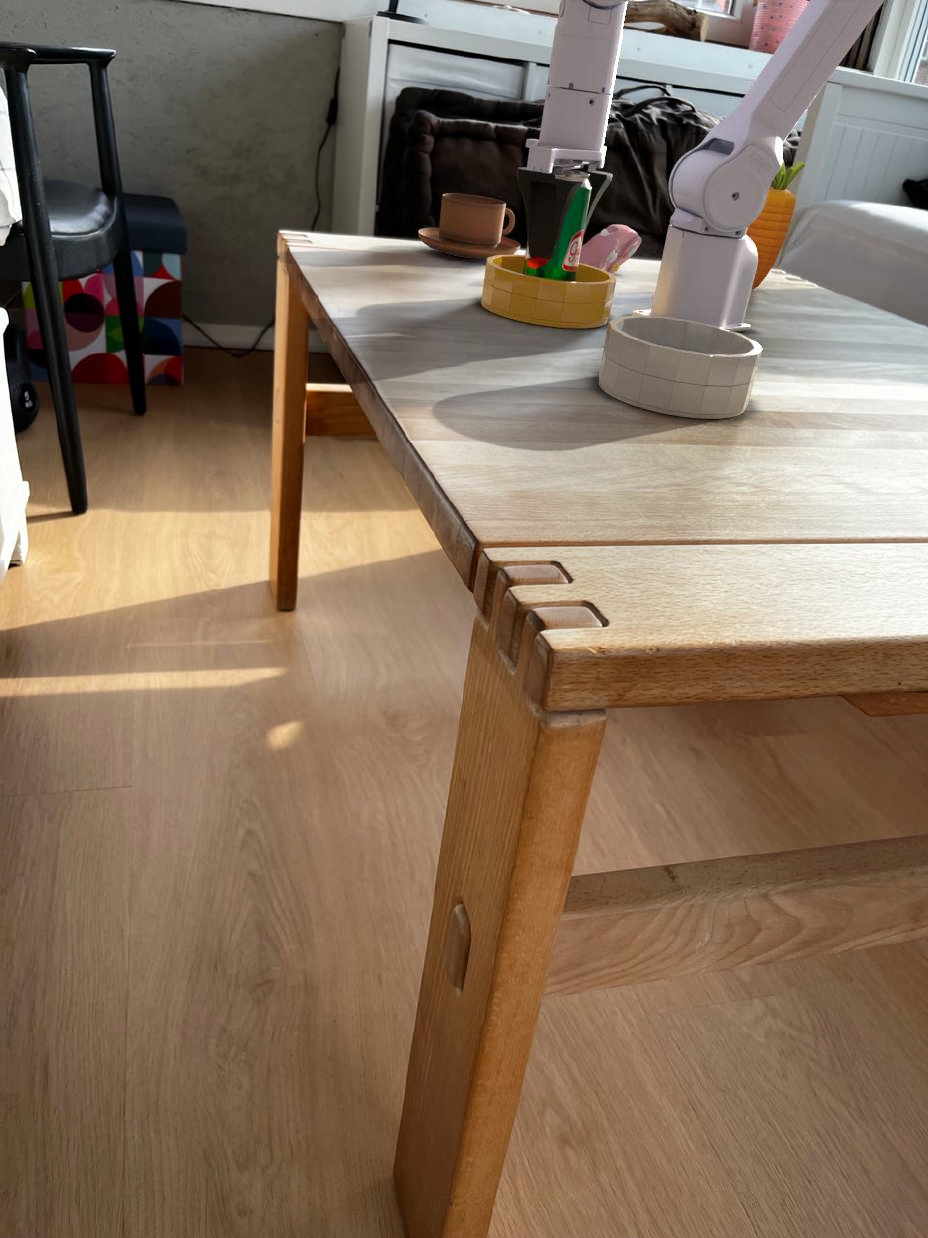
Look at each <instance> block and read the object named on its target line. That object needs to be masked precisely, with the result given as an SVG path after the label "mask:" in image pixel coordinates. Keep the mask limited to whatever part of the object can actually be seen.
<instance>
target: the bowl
mask: <svg viewBox="0 0 928 1238" xmlns="http://www.w3.org/2000/svg"><path fill="white" fill-rule="evenodd" d="M524 260H525V254H516V253H515V254H513V255H496V256H492V257H488V258H487V259H486V263H485V270H484V278H483V285H482V286H483V287H482V294H481V301H480V304H481V306H482V307H483V308H484V309H485V310H486V311H489V312H491V313H492V314H494V315H498V316H500V317H503V318H506V319H510V320H513V321H517V322H521V323H526V324H530V325H531V324H532V325H536V326H543V327H551V328H561V329H593V328H599V327H602V326H605V325H606V324H607V323H608V322H609V318H610V315H611V310H612V307H613V306H612V305H613V300H614V294H615V289H616V283H617V278H616V276H615V275H614V273H613V274H611V273H609V272H607V271H605V270H603V269H600V268H596V267H593V266H589V265H586V264H582V263H579V264H578V270H577V276H576V282H568V281H559V280H552V279H545V278H539V277H534V276H529V275H525V274H523V267H524Z"/></svg>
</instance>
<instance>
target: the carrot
mask: <svg viewBox="0 0 928 1238" xmlns="http://www.w3.org/2000/svg"><path fill="white" fill-rule="evenodd" d="M805 167H806V164H805V163H804V162H803V161H798V162H797V163H796V164H795V166H793V165H792V166H790V167H789V168H788V169H787V170H786V166H785V161H784V159H782V166H781V169H780V170H779V172H778V173H777V174H776V176H775V177H774V179H773V181H772V183H771V186H772V187H771V186H770V187H769V191H768V195H767V199H766V203H765V205H764V208H763V210H762V212H761V213H760V215H759V216H758V218H757V219H756V220H755V221H754V222H753V223H752V224H750V225H749V226H748V227H747V233H746V235H747V236H749V237H750V238H751V239H752V241H753V242H754V244H755V246H756V250H757V255H758V264H757V270H756V274H755V277H754V281H753V285H752V289H751V291H752V290H755V289H757V288H758V287H759V286H760V285H761V283H762V282H763V281H764V280H765V278H766V277H767V276H768V275H769V274H770V272H771V270H772V269H773V267H774V265H775V263H776V261H777V259H778V257H779V254H780V252H781V250H782V248H783V245H784V243H785V241H786V237H787V235H788V231H789V228H790V225H791V222H792V218H793V215H794V211H795V208H796V203H797V202H796V201H797V200H796V196H795V195H794V194H793V193H792V192H791V191H790V190H788V189H787V187H788V186H789V185H790V184H791V182H792V181H793V180H794V179H795V178H796V176H797V175H798V174H799V173H800V172H801V170H803V169H804V168H805Z"/></svg>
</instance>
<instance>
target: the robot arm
mask: <svg viewBox="0 0 928 1238" xmlns="http://www.w3.org/2000/svg"><path fill="white" fill-rule="evenodd" d="M629 1H630V0H560V3H559V8H558V16H557V23H556V24H555V27H554V33H553V41H552V47H551V54H550V60H549V61H550V62H549V69H548V75H547V81H546V82H547V83H546V90H545V96H544V97H545V98H544V106H543V111H542V118H541V124H540V132H539V139H537V138H526V141H525V148H529V150H528V157H527V165H526V166H521V167H517V169H516V181H517V184H518V187H519V190H520V193H521V195H522V200H523V204H524V210H525V218H526V232H527V240H528V248H529V255H531V256H535V257H540V258H545V259H552V258H553V256H554V253H555V251H556V248H557V245H558V242H559V238H560V234H561V231H562V227H563V223H564V220H565V217H566V214H567V212H568V209H569V207H570V204H571V202H572V200H573V198H574V196H575V195H576V193H577V191H578V190H579V188H580V186H581V185H582V183H583V181H581V180H575V179H569V178H565V174H562V173H563V170H568V169H572V170H577V171H582V172H586V173H588V174H590V176H589V177H588V179H589V182H590V185H591V187H592V188H591V194H590V200H589V206H588V212H587V218H586V224H585V229H584V234H585V233H586V230H587V227H588V224H589V222H590V219H591V217H592V215H593V213H594V210H595V208H596V206H597V204H598V202H599V201H600V199H601V197H602V196H603V194H604V193H605V191H606V189H607V188H608V187H609V185H610V184H611V182H612V180H613V179H612V178H613V174H612V173H610V172H606V171H600V170H597V169H603V168H604V164H605V157H606V154H607V153H606V152H607V146H605V145H604V144H605V139H606V138H605V137H606V131H607V126H608V121H609V120H608V119H609V114H610V108H611V104H612V98H613V91H614V85H615V81H616V74H617V68H618V62H619V58H620V57H619V56H620V51H621V46H622V45H621V44H622V40H623V27H624V21H625V16H626V10H627V6H628V5H627V4H628V2H629ZM884 2H885V0H809V2H808V3H807V4H806V6H805V7H804V9H803V10H802V11H801V13H800V15H799V16H798V17H797V19H796V21H794V24H793V25H792V27H791V28H790V29H789V31H788V32H787V33H786V35H785V37H784V38H783V39H782V41H781V42H780V44H779V45H778V47H777V48H776V50H775V51H774V53H773V54H772V55H771V57H770V59H769V60H768V61H767V63H766V64H765V66H764V67H763V69H761V71H760V72H759V75H758V76H757V78H756V79H755V80H754V82H753V83H752V85H751V86H750V88H748V90H747V91H746V93H745V95H744V96H743V98H742V99H741V100H740V102H739V103H738V105H737V107H736V108H735V109H734V110H733V111H732V113H730V114H729V115H728V116H727V117H725V118H724V119H722V120H721V121H720V122H718V123H717V124H715V125H714V126H713V127H712V128H711V129H710V130H709V131H708V133H707V134H706V136H705V137H704V139H703V140H702V141H701V142H700V143H699V144H698V145H697V146H695V147H694V148H692V149H691V150H689V151H688V152H686V153H684V154H683V155H682V156H681V157H680V158H679V159H678V160H677V161H676V163H675V164H674V166H673V168H672V170H671V173H670V175H669V180H668V195H669V199H670V201H671V203H672V205H673V207H674V208H675V209H674V212H673V214H672V215H671V216H670V219H669V224H668V228H667V233H666V237H665V242H664V247H663V250H662V251H663V252H662V255H661V256H662V257H661V260H660V261H661V262H660V266H659V271H658V276H657V280H656V285H655V291H654V295H653V300H652V304H651V308H649V309H640V310H639V309H638V310H632V311H631V316H634V315H641V316H661V317H669V318H676V319H683V320H690V321H695V322H699V323H704V324H708V325H713V326H717V327H720V328H723V329H727V330H730V331H733V332H742V331H749V330H750V329H751V325H750V324H749V323H745V318H746V313H747V309H748V305H749V301H750V298H751V297H750V296H751V292H752V285H753V281H754V277H755V274H756V270H757V264H758V255H757V250H756V246H755V244H754V242H753V241H752V239H751V238H750V237H749V236H747V229H748V226H749V225H750V224H752V223H753V222H754V221H755V220H756V219H757V218H758V216H759V215H760V213H761V212H762V210H763V208H764V205H765V203H766V199H767V195H768V191H769V187H771V186H772V184H771V183H772V181H773V179H774V177H775V176H776V174H777V173H778V172H779V170H780V169H781V166H782V160H783V145H784V142H785V141H786V139H787V138H788V137H789V135H790V134H791V133H792V131H793V129H794V128H795V127H796V126H797V124H798V123H799V121H800V120H801V119H802V118H803V115H804V114H805V113H806V111H807V110H808V109H809V107H810V106H811V105H812V104H813V101H814V100H815V99H816V98H817V96H818V95H819V93H820V92H821V91H822V89H823V87H824V86H825V85H826V84H827V82H828V80H829V79H830V77H831V76H832V75H833V74H834V72H835V71H836V69H837V68H838V66H839V65H840V63H842V61H843V60H844V58H845V56H846V55H847V54H848V53H849V51H850V50H851V48H852V47H853V45H854V44H855V43H856V41H857V40H858V39H859V37H860V36H861V34H862V33H863V31H864V30H865V29H866V27H867V26H868V24H869V23H870V21H871V20H872V19H873V17H874V16H875V14H876V13H877V12H878V11H879V9H880V8H881V6H882V5H883V4H884ZM779 173H780V172H779Z"/></svg>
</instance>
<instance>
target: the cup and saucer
mask: <svg viewBox="0 0 928 1238" xmlns="http://www.w3.org/2000/svg"><path fill="white" fill-rule="evenodd" d="M506 206H507V203H506V201H503V200H500V199H496V198H492V197H489V196H488V197H487V196H482V195H475V194H469V193H457V192H456V193H454V192H453V193H452V192H450V193H443V194H442V196H441V205H440V217H439V226H438V227H424V228H420V229H418V232H417V235H418V238H419V239H420V240H421V242H422V243H423V244H424V245H426V246H427V247H429V248H431V249H432V250H435V251H437V252H440V253H443V254H446V255H450V256H454V257H458V258H464V259H472V260H487V258H488V257H492V256H496V255H513V254H515V255H516V253H517V252H519V250H520V249H521V243H520V242H518V241H517V240H515V239H513V238H509V237H507V236H506V235H509V234H510V233H511V232H512V230H513V229H514V227H515V222H516V221H515V220H516V219H515V214H514V212H513V211H512V210H511V209H510V208H507V207H506ZM505 215H506V216H508V218H509V219H508V220H509V223H508V226H507V227H506V228H504V229H503V226H504V219H505V218H504V217H505Z"/></svg>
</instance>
